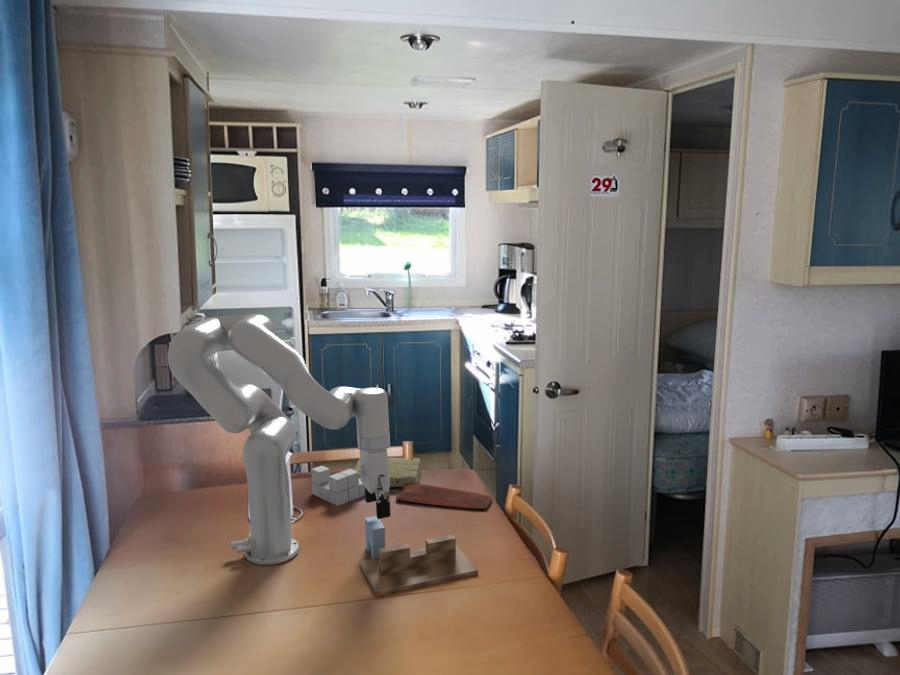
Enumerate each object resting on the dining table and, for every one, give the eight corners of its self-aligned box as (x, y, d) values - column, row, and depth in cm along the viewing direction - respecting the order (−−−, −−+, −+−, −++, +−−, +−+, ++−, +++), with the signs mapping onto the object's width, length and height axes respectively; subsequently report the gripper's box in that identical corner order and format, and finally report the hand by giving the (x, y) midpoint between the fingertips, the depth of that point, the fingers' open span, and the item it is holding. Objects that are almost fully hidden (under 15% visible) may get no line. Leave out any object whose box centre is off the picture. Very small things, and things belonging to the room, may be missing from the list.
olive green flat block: (357, 455, 219) (418, 448, 218) (360, 472, 220) (421, 465, 220) (348, 477, 201) (415, 470, 200) (351, 496, 202) (418, 489, 201)
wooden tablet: (394, 502, 193) (393, 496, 193) (405, 486, 202) (405, 481, 202) (485, 513, 186) (485, 507, 186) (493, 496, 195) (493, 491, 195)
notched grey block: (385, 558, 162) (384, 527, 161) (373, 561, 161) (372, 529, 160) (377, 546, 168) (376, 515, 167) (365, 548, 167) (365, 517, 166)
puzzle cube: (370, 493, 200) (369, 467, 198) (337, 506, 191) (336, 479, 189) (344, 482, 208) (343, 457, 206) (312, 494, 199) (310, 468, 197)
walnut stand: (376, 596, 146) (375, 568, 145) (359, 565, 159) (358, 539, 158) (478, 573, 155) (478, 547, 154) (454, 546, 168) (454, 521, 167)
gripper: (349, 432, 166) (353, 498, 169) (368, 455, 150) (372, 527, 153) (378, 428, 169) (382, 492, 172) (400, 449, 153) (404, 520, 156)
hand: (377, 509), depth 163 cm, fingers open, 9 cm apart
